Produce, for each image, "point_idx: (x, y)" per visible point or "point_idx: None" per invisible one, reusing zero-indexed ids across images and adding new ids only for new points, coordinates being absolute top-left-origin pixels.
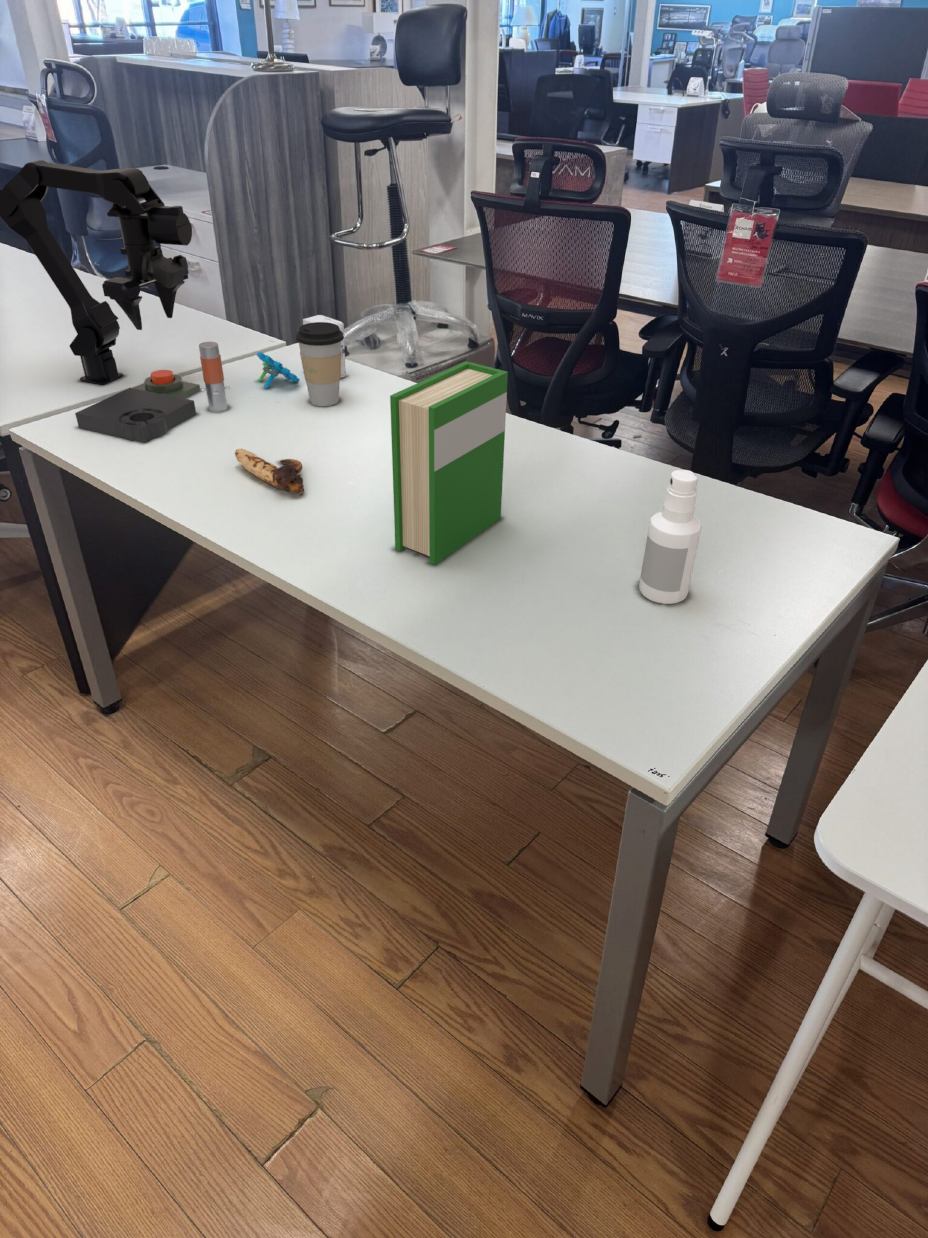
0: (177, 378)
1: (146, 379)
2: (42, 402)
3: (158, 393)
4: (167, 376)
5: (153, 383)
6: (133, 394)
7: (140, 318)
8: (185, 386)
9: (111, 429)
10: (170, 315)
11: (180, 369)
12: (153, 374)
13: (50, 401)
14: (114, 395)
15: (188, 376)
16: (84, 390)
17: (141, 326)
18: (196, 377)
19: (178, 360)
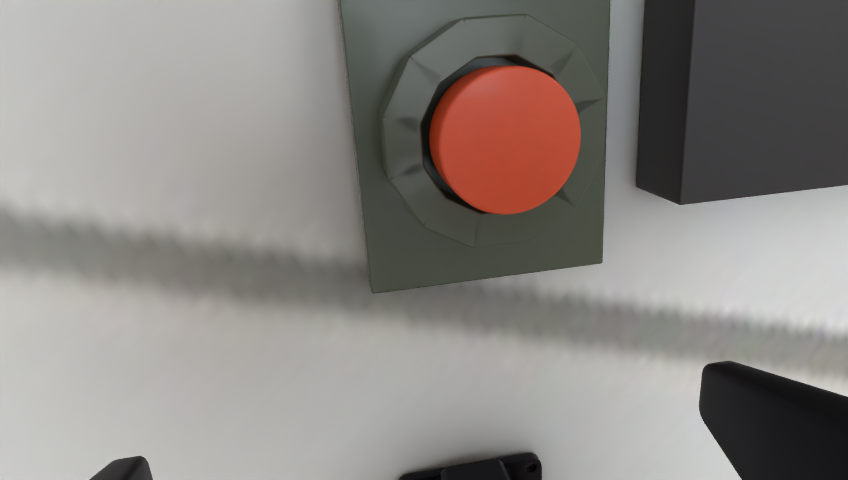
0: (437, 69)
1: (542, 223)
2: None
3: None
4: (533, 69)
5: None
6: (760, 102)
7: (844, 420)
8: (413, 24)
9: None
10: (135, 477)
11: (142, 340)
12: (555, 170)
13: None
14: (802, 181)
15: (196, 219)
16: (611, 462)
17: (744, 371)
18: (177, 167)
19: (43, 455)
